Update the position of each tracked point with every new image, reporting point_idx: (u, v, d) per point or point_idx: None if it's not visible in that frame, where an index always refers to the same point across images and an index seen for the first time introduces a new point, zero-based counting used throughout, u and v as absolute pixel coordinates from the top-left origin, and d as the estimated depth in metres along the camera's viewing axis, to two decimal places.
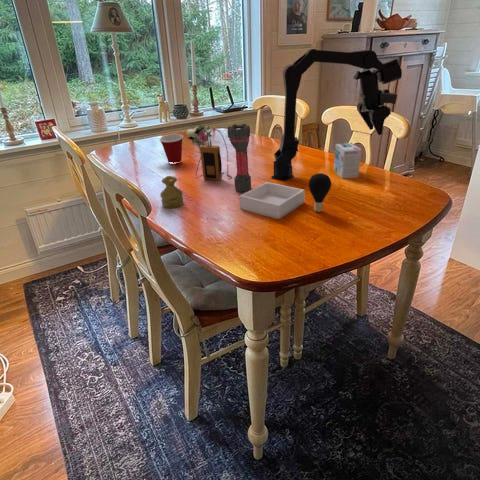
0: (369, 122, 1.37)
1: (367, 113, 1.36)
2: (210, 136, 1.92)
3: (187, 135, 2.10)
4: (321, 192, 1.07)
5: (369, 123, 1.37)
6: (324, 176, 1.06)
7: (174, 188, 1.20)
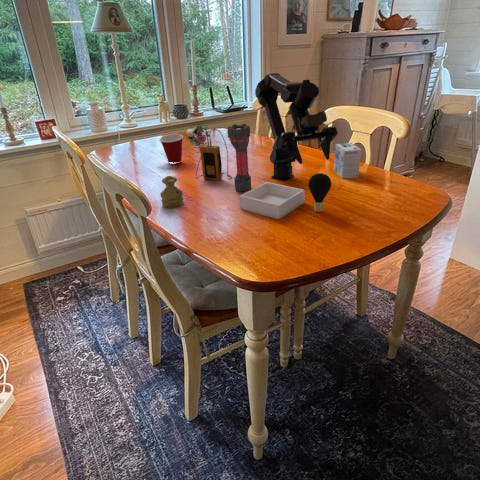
0: (325, 152, 1.16)
1: (323, 142, 1.17)
2: (208, 136, 1.92)
3: (187, 135, 2.11)
4: (321, 192, 1.07)
5: (325, 153, 1.16)
6: (324, 176, 1.06)
7: (174, 188, 1.20)
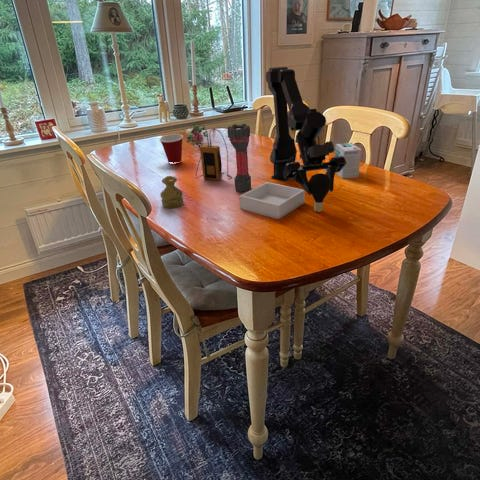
0: None
1: (327, 173, 1.11)
2: (206, 136, 1.92)
3: (186, 134, 2.12)
4: (321, 192, 1.07)
5: None
6: (324, 176, 1.06)
7: (174, 188, 1.20)
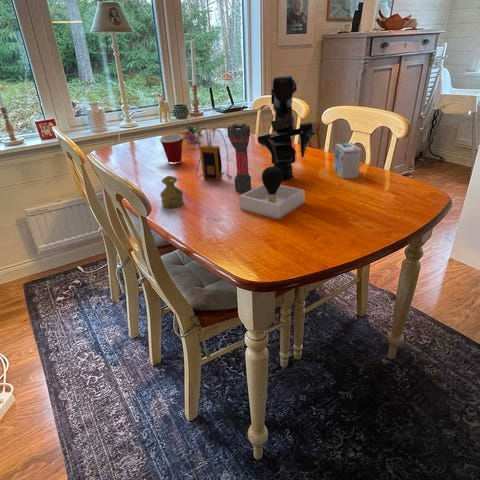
0: None
1: None
2: (201, 136, 1.93)
3: None
4: (269, 184, 1.12)
5: None
6: (274, 169, 1.11)
7: (174, 188, 1.20)
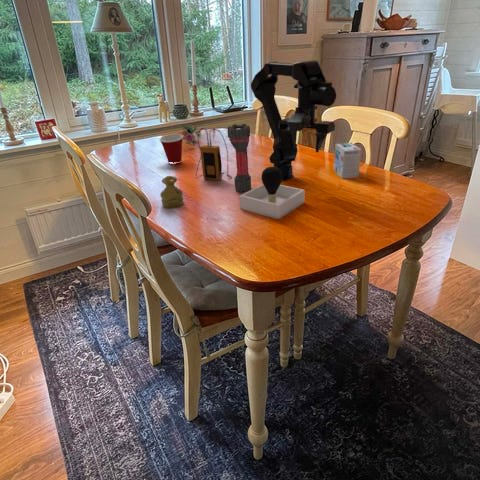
0: None
1: None
2: (199, 136, 1.94)
3: None
4: (268, 184, 1.12)
5: None
6: (273, 170, 1.11)
7: (174, 188, 1.20)
